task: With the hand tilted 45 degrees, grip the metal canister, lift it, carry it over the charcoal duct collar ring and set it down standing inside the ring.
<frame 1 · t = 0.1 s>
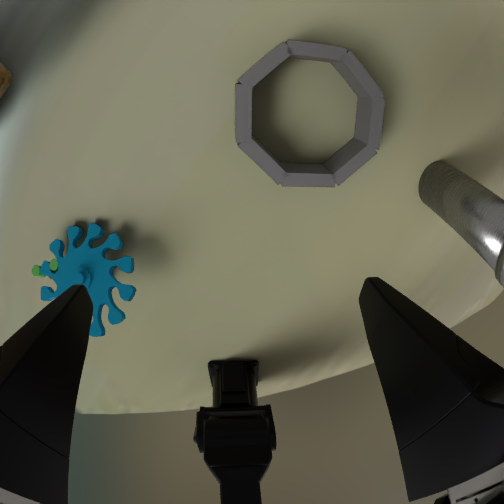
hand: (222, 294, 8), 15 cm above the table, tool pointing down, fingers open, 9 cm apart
collar: (305, 111, 19), on the table
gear: (94, 253, 24), on the table
metal canister: (437, 184, 22), on the table
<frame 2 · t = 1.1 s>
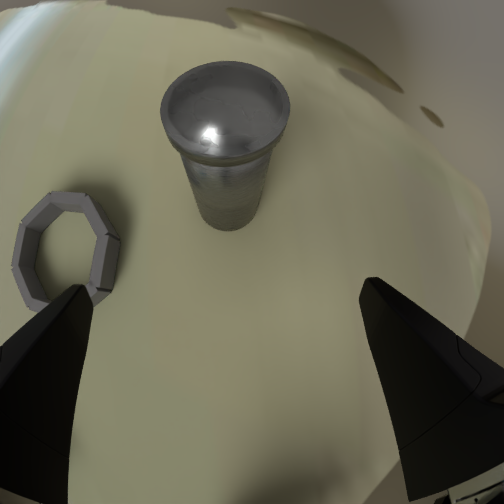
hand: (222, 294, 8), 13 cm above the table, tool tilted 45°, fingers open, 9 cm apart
collar: (68, 257, 21), on the table
metal canister: (227, 202, 23), on the table
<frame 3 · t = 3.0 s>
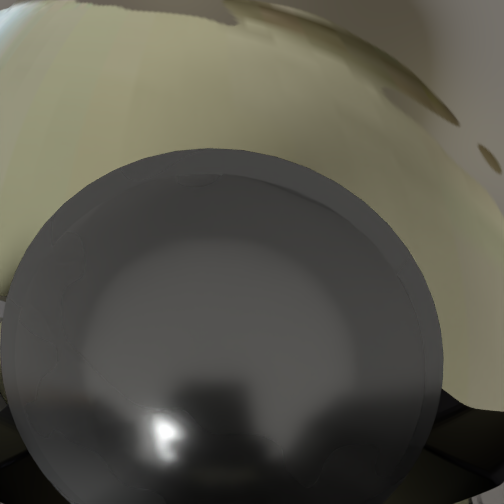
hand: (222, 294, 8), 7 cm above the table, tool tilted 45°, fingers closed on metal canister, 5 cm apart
metal canister: (228, 324, 15), on the table, touching gripper
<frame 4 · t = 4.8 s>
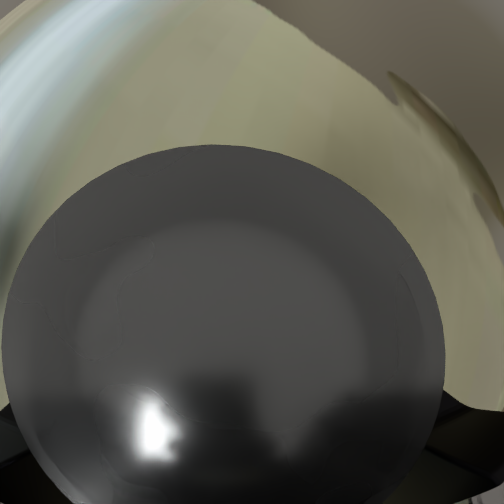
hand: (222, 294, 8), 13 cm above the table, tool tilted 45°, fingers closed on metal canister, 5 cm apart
metal canister: (228, 323, 15), point 7 cm above the table, touching gripper
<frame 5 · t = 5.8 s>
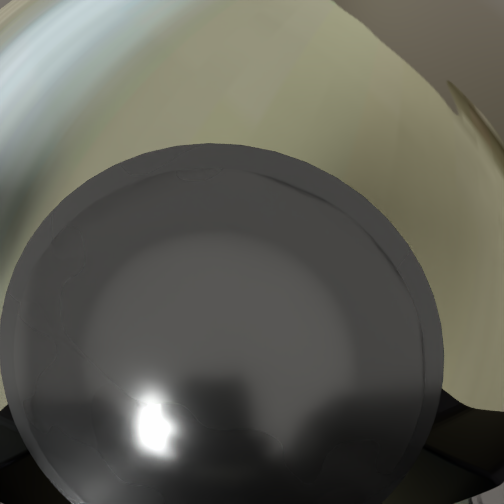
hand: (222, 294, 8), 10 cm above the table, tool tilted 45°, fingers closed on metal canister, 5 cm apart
metal canister: (228, 323, 15), point 3 cm above the table, touching gripper
when the fingers open (8 cm above the table, at t = 6.5 s): metal canister drops 1 cm, resting in collar.
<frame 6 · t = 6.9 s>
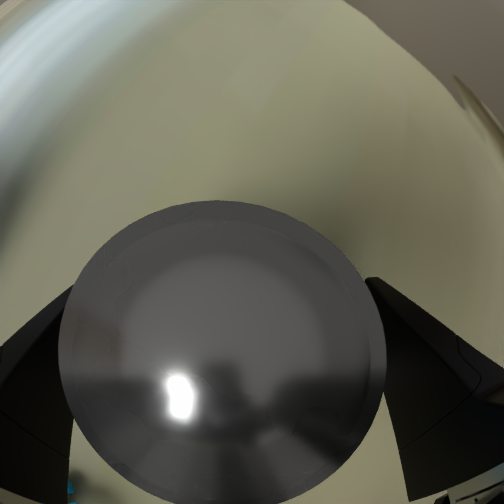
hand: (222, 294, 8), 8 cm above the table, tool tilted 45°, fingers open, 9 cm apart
metal canister: (228, 323, 16), resting in collar
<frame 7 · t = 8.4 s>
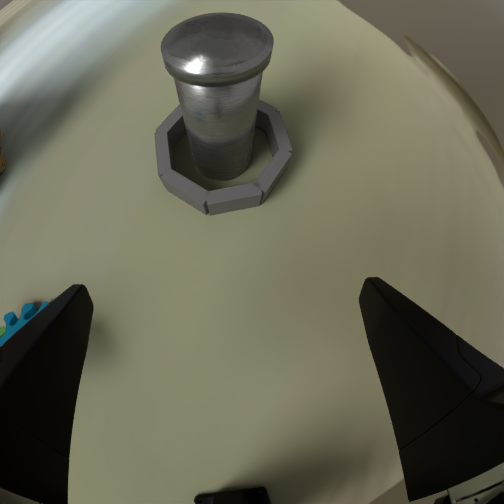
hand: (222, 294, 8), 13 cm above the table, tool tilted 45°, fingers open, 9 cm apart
collar: (222, 154, 23), on the table
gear: (45, 343, 19), on the table
metal canister: (222, 155, 23), resting in collar
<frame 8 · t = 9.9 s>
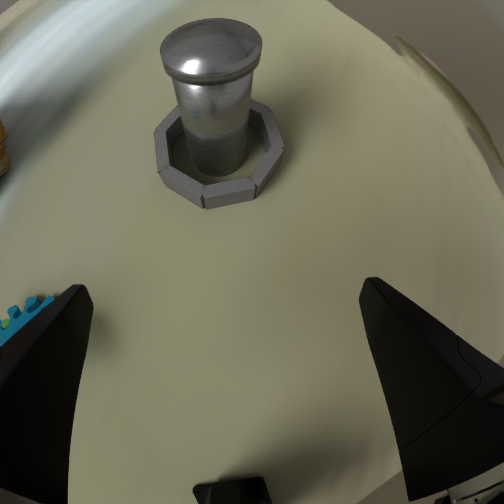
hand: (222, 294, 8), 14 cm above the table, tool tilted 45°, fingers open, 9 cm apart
collar: (218, 152, 24), on the table
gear: (47, 336, 20), on the table
metal canister: (218, 152, 24), resting in collar
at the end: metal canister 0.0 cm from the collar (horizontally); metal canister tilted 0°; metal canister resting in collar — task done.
